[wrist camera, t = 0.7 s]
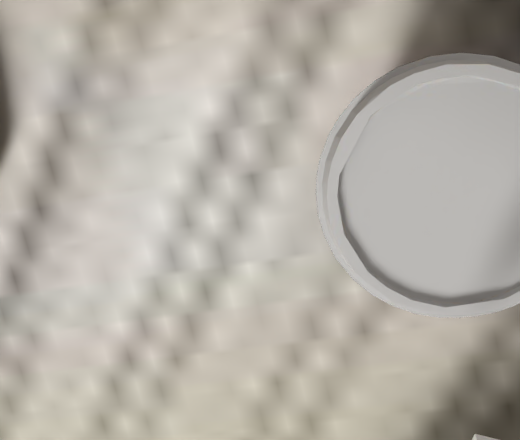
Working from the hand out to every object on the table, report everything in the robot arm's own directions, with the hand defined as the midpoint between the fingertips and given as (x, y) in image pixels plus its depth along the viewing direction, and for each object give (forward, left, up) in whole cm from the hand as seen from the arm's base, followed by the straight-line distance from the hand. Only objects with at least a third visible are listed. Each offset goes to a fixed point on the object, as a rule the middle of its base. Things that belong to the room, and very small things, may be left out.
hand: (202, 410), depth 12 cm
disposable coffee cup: (-1, -8, -19) cm, 20 cm away
